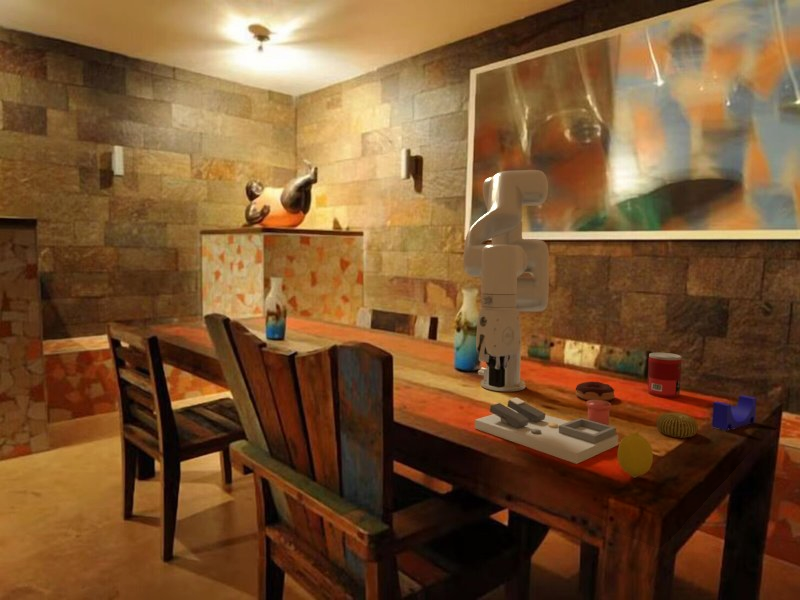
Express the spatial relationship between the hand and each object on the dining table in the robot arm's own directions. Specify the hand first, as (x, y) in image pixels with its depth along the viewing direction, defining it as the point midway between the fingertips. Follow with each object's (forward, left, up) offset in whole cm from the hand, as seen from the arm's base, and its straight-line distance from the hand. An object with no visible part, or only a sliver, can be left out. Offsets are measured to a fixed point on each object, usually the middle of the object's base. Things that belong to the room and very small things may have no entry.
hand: (496, 385), depth 114 cm
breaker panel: (+9, +4, -10) cm, 14 cm away
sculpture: (+26, +28, -10) cm, 40 cm away
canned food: (+10, +58, -10) cm, 60 cm away
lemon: (+31, -1, -10) cm, 33 cm away
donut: (0, +41, -10) cm, 42 cm away
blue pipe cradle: (+31, +44, -10) cm, 55 cm away
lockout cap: (+14, +17, -10) cm, 24 cm away
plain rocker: (+3, 0, -7) cm, 8 cm away
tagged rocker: (+3, +6, -7) cm, 10 cm away
